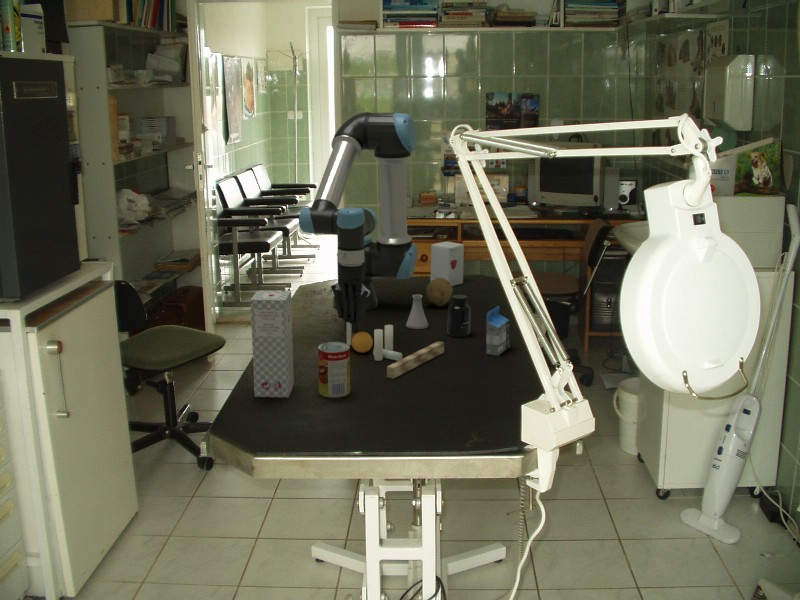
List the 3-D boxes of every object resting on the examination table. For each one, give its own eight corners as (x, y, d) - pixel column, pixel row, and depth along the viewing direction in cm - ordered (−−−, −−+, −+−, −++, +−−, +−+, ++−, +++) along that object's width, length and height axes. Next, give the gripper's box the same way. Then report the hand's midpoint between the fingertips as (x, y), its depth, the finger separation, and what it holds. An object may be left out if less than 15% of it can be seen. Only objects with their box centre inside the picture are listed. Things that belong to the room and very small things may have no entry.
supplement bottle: (468, 338, 265) (469, 300, 261) (445, 337, 266) (446, 298, 263) (471, 331, 271) (472, 294, 268) (449, 330, 272) (449, 293, 269)
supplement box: (448, 287, 323) (449, 247, 319) (429, 283, 329) (430, 244, 325) (463, 283, 329) (464, 244, 325) (445, 279, 335) (446, 240, 331)
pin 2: (387, 352, 252) (387, 324, 250) (394, 354, 251) (394, 325, 248) (382, 354, 250) (382, 326, 248) (389, 356, 249) (389, 327, 246)
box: (254, 396, 219) (250, 299, 212) (261, 384, 227) (257, 290, 220) (288, 397, 219) (285, 300, 212) (293, 385, 227) (291, 291, 220)
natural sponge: (444, 311, 292) (444, 282, 290) (420, 308, 297) (421, 279, 294) (456, 305, 300) (457, 277, 297) (433, 301, 304) (433, 273, 301)
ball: (361, 328, 255) (376, 330, 251) (363, 348, 256) (377, 351, 252) (346, 332, 251) (361, 335, 247) (348, 353, 252) (362, 356, 248)
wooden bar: (438, 351, 253) (438, 341, 252) (444, 352, 252) (444, 342, 251) (386, 377, 232) (386, 366, 232) (393, 378, 231) (393, 368, 231)
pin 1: (377, 357, 248) (377, 328, 246) (384, 358, 246) (384, 329, 244) (372, 359, 246) (372, 330, 244) (379, 361, 245) (379, 332, 242)
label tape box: (498, 356, 249) (499, 314, 246) (484, 354, 251) (486, 312, 248) (509, 347, 257) (511, 307, 253) (497, 345, 259) (498, 305, 255)
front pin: (377, 346, 250) (402, 351, 245) (377, 353, 251) (402, 359, 246) (372, 348, 248) (397, 354, 243) (373, 356, 249) (397, 362, 244)
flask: (406, 330, 273) (406, 298, 270) (405, 323, 280) (405, 292, 277) (429, 329, 273) (429, 298, 271) (427, 323, 280) (428, 292, 278)
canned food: (342, 384, 227) (341, 340, 224) (355, 394, 221) (355, 348, 218) (314, 389, 224) (313, 344, 221) (326, 399, 217) (325, 353, 214)
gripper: (324, 262, 248) (325, 342, 254) (361, 269, 241) (362, 350, 247) (340, 258, 254) (341, 336, 260) (377, 264, 247) (377, 344, 253)
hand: (351, 343), depth 253 cm, fingers closed
